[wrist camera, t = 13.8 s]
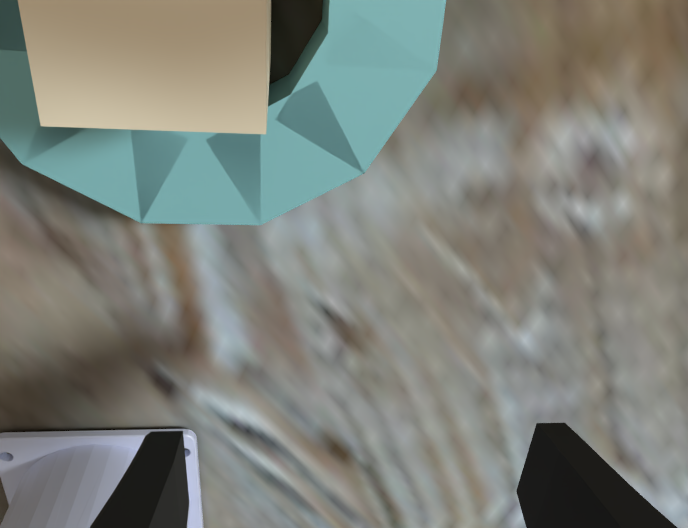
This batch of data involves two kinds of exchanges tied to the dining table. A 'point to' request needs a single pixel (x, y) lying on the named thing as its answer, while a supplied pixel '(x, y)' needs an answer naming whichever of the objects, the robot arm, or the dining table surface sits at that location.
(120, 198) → the bead ring
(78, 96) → the ash peg
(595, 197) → the dining table surface
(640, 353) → the dining table surface
